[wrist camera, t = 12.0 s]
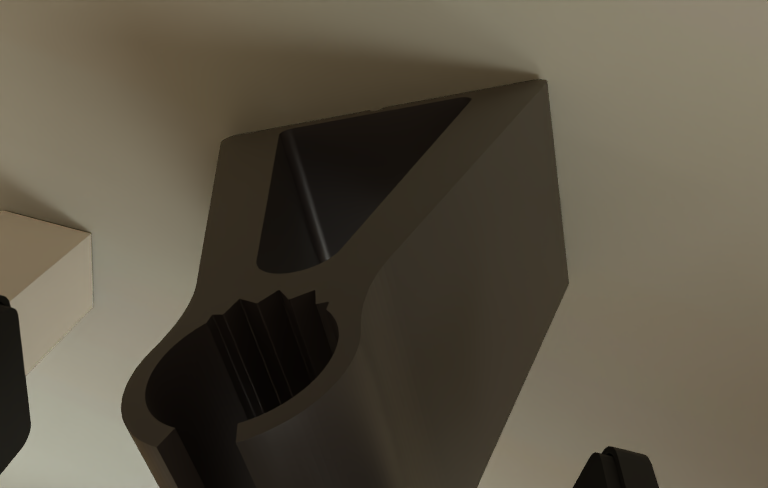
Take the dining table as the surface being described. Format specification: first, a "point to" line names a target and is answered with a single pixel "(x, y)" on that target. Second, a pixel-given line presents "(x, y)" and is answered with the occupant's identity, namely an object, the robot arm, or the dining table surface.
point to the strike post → (44, 280)
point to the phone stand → (362, 300)
